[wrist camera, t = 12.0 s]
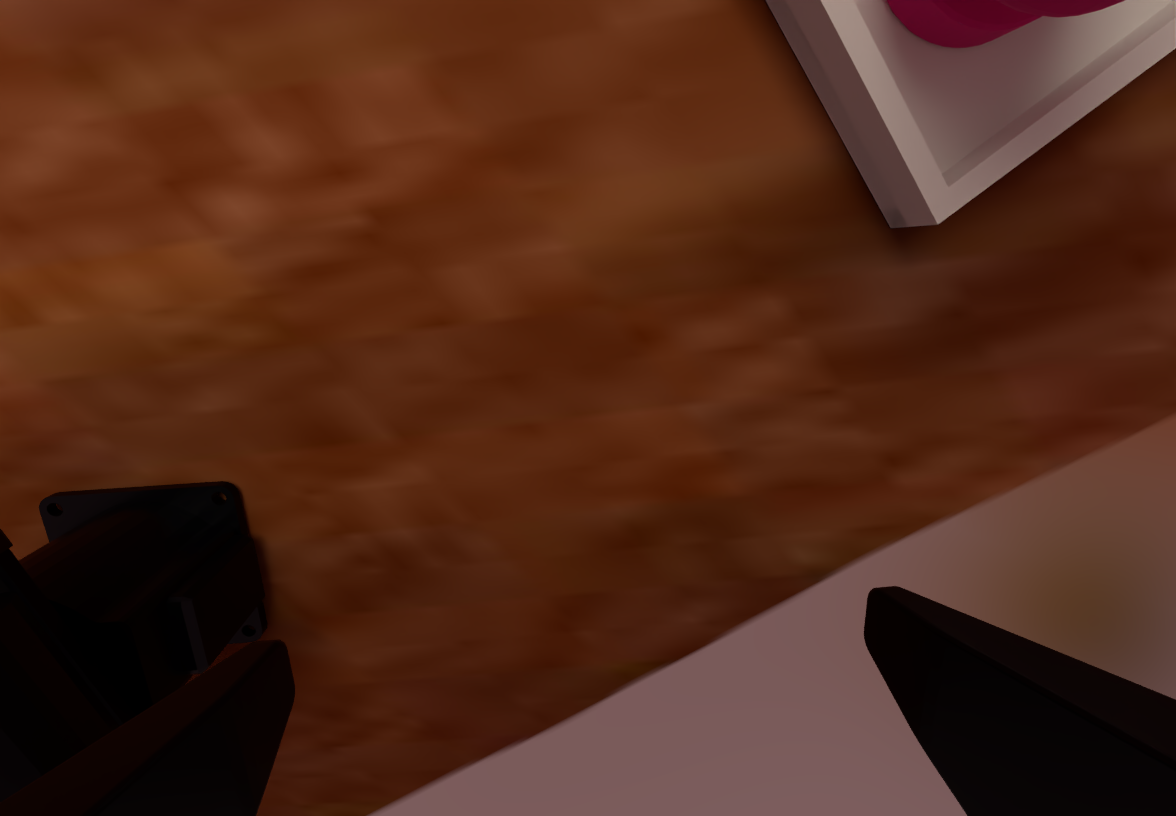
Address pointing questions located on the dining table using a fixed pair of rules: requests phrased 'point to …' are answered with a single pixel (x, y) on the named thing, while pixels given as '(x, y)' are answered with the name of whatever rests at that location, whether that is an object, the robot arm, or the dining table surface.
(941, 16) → the pepper mill
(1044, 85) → the tray
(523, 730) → the dining table surface
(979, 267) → the dining table surface
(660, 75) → the dining table surface
